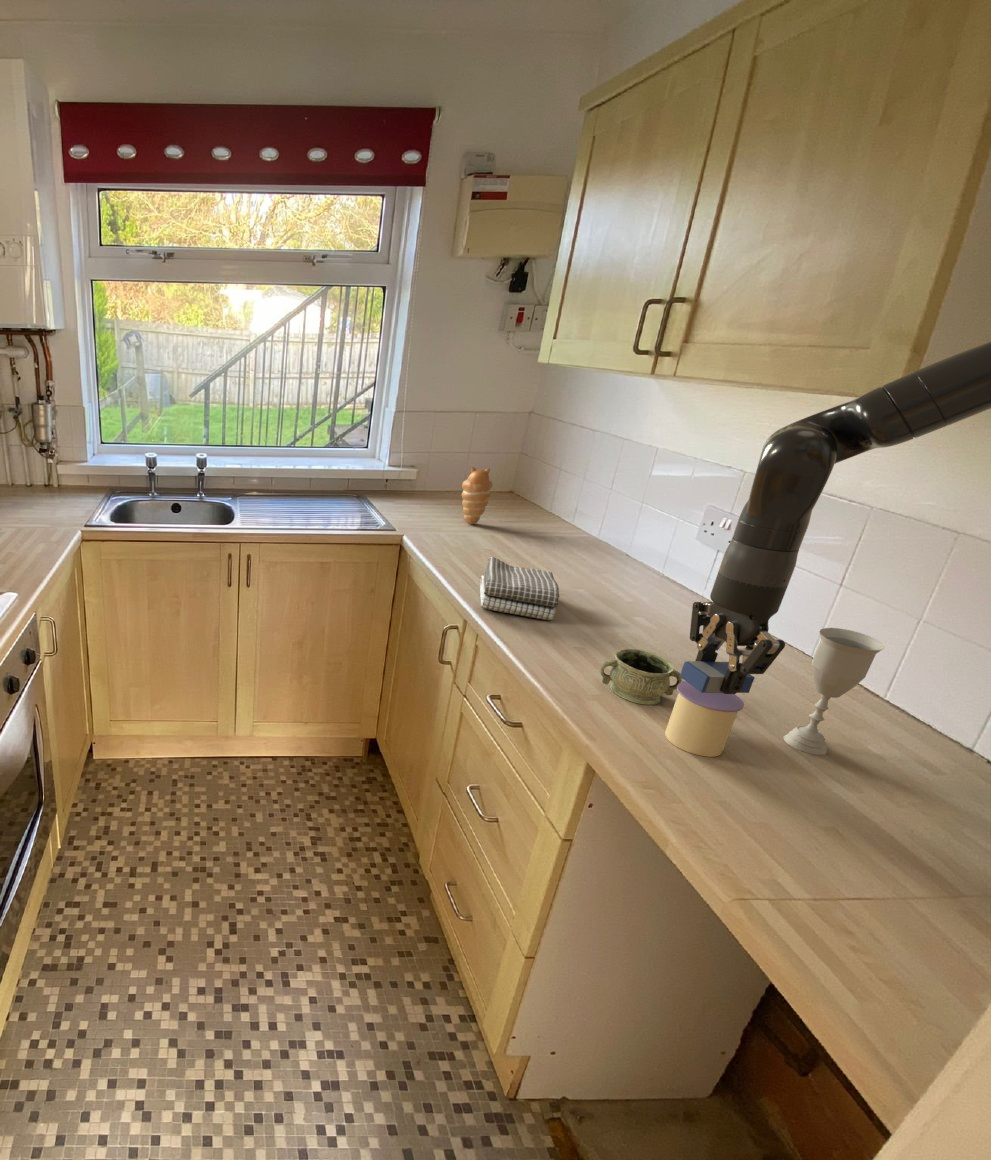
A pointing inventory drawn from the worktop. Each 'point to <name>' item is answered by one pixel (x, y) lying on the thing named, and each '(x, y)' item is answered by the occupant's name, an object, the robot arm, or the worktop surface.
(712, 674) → the block
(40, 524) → the worktop surface
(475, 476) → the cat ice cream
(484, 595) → the towel
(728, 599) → the robot arm
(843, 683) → the chalice
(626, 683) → the vessel
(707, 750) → the yogurt pot
